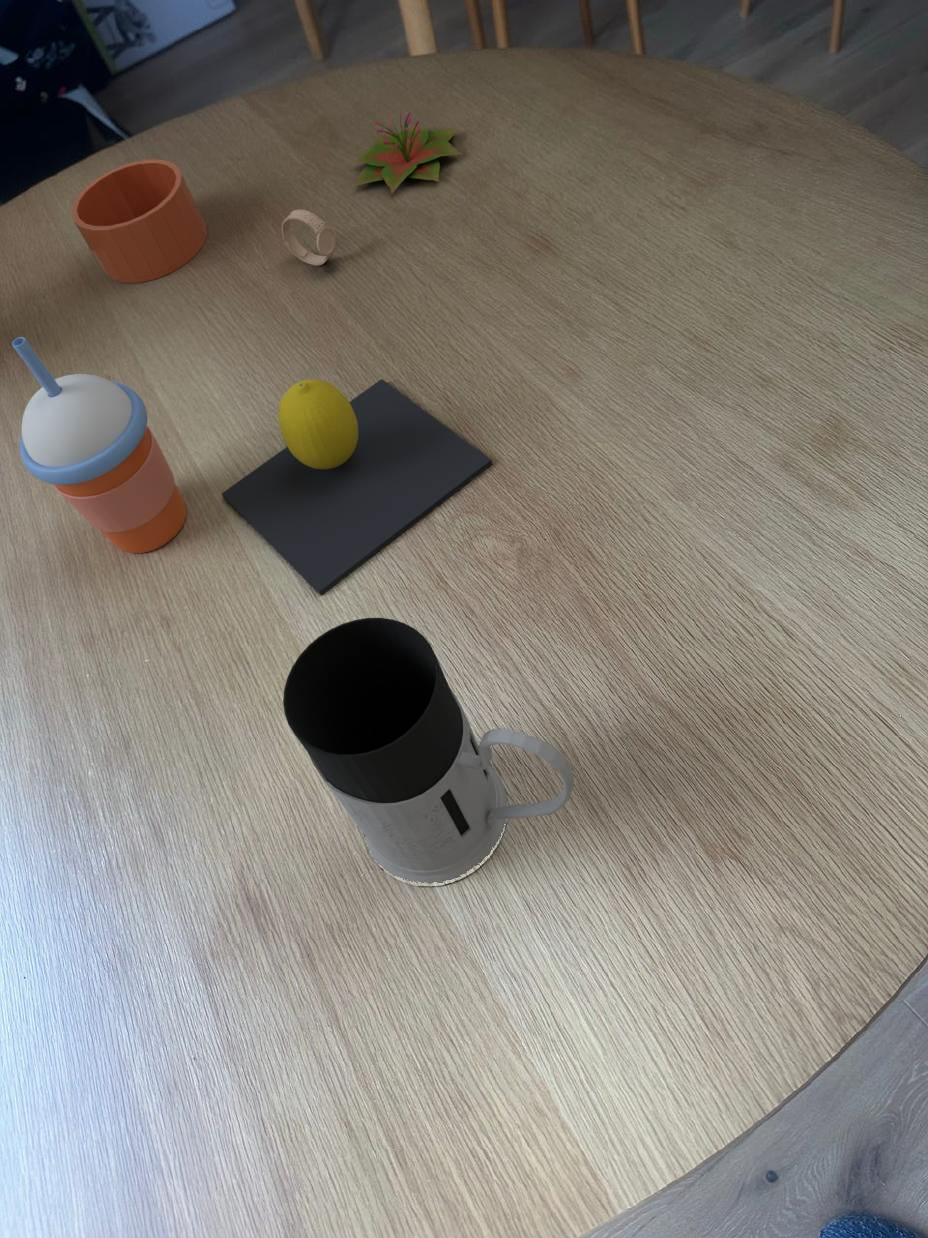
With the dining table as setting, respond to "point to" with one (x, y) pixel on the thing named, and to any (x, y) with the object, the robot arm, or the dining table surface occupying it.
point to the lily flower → (405, 154)
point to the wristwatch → (324, 238)
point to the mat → (357, 488)
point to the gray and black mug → (405, 750)
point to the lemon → (318, 424)
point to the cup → (140, 221)
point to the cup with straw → (100, 456)
